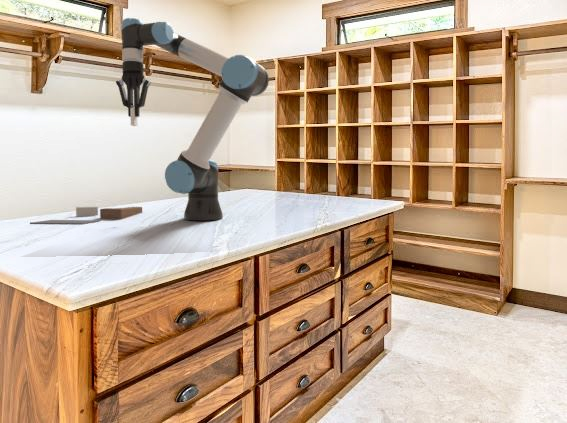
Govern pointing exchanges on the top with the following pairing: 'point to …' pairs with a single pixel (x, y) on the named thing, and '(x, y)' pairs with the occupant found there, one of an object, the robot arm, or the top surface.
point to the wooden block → (119, 212)
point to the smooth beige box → (86, 211)
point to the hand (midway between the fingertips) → (134, 125)
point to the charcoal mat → (65, 222)
